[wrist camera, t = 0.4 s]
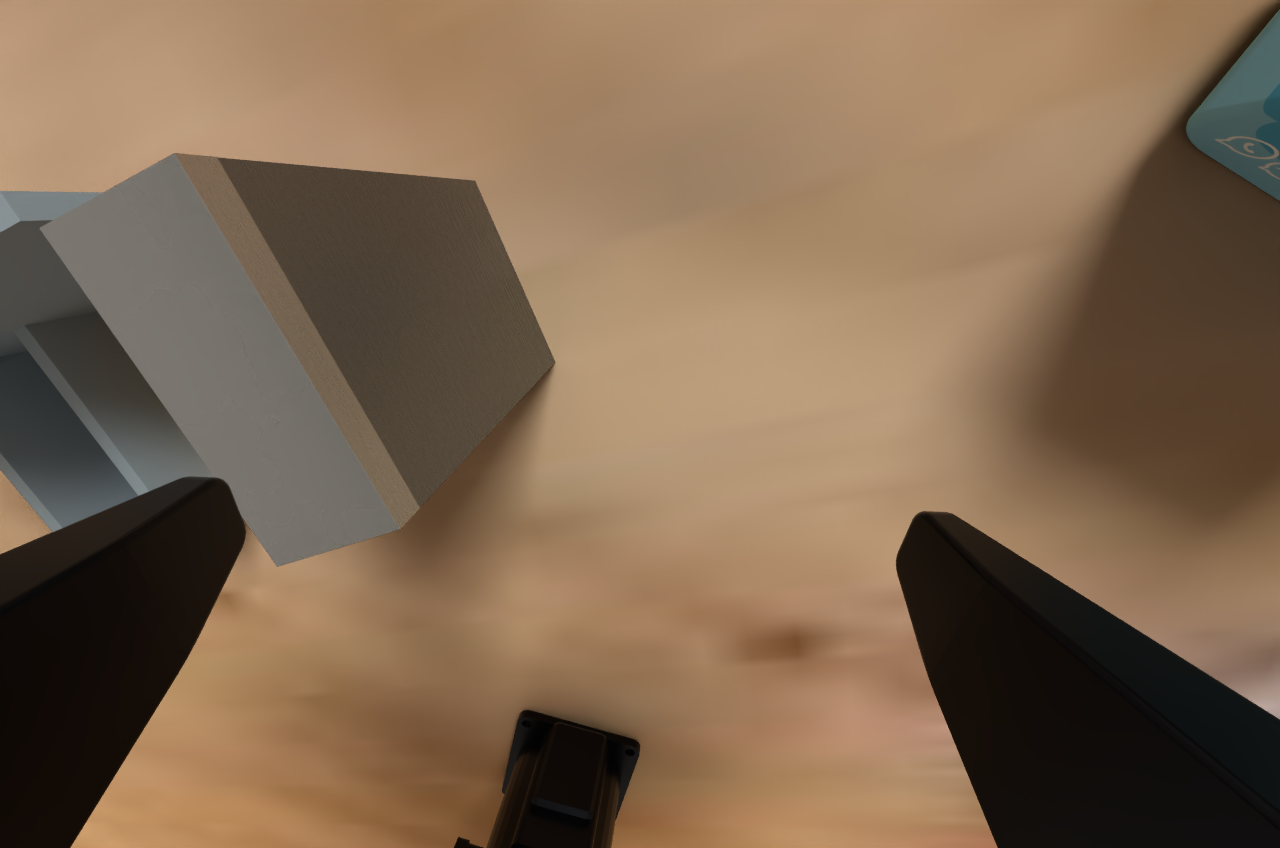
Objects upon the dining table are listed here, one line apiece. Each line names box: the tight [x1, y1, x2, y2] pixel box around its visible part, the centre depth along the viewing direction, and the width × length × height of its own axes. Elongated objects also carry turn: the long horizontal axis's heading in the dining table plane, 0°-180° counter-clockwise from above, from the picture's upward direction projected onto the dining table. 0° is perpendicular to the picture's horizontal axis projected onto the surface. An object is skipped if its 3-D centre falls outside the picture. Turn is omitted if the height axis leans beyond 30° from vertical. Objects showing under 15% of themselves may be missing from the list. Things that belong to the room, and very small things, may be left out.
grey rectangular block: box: [39, 153, 555, 567], centre depth 15 cm, size 7×3×12 cm, turn 21°
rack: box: [0, 191, 214, 532], centre depth 18 cm, size 10×16×12 cm, turn 111°
